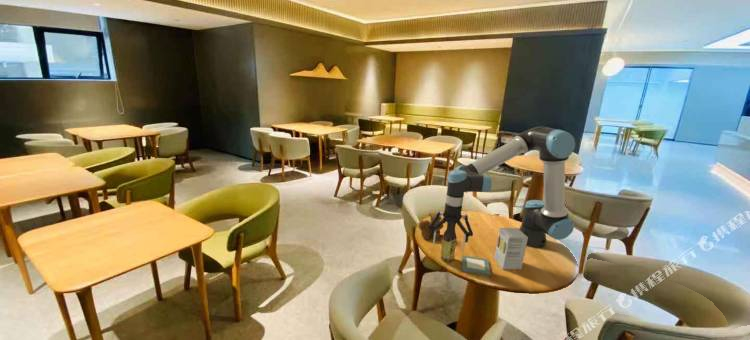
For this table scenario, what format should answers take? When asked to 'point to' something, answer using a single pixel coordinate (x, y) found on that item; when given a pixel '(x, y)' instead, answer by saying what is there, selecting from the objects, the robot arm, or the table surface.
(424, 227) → the stuffed squirrel
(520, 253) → the supplement box
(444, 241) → the sauce bottle
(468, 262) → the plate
